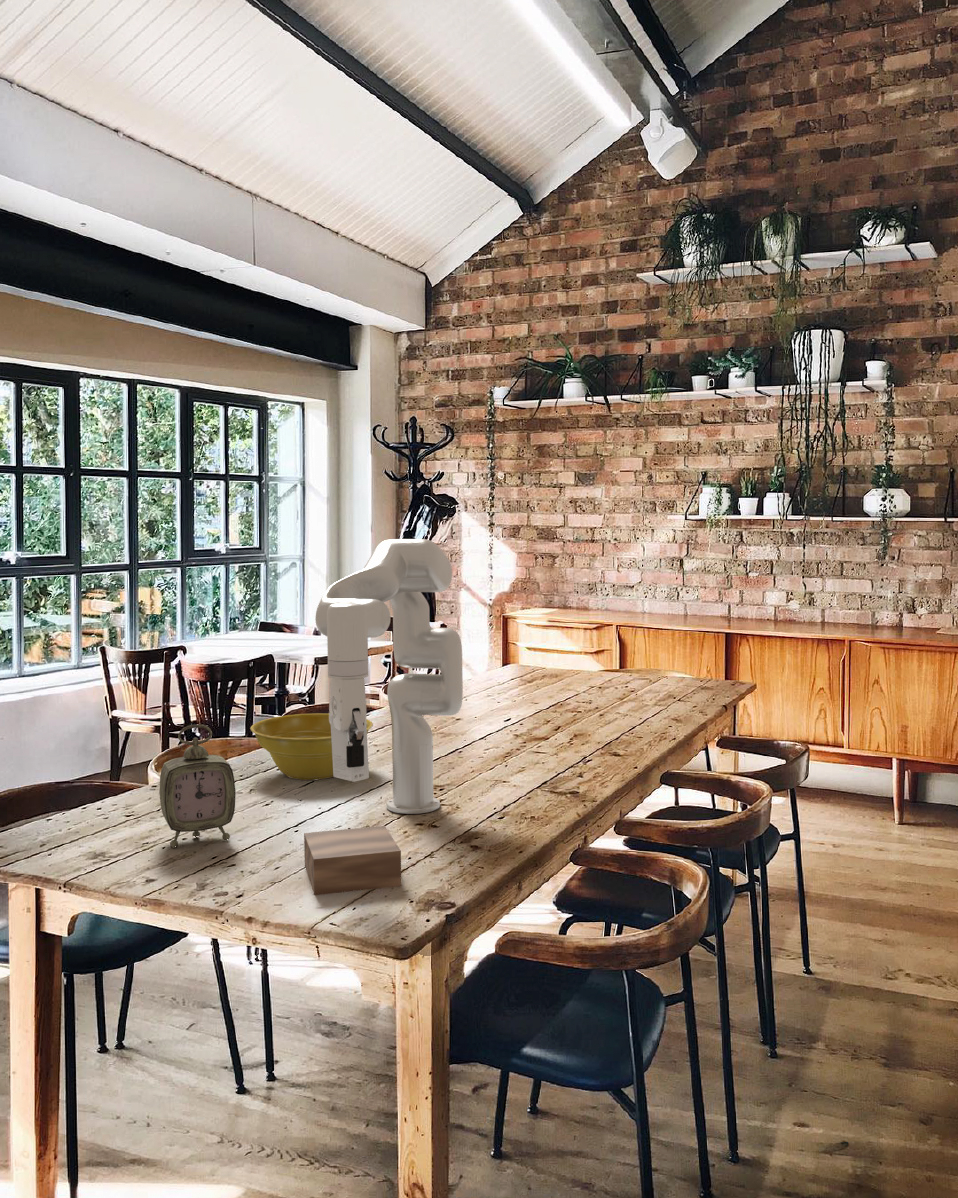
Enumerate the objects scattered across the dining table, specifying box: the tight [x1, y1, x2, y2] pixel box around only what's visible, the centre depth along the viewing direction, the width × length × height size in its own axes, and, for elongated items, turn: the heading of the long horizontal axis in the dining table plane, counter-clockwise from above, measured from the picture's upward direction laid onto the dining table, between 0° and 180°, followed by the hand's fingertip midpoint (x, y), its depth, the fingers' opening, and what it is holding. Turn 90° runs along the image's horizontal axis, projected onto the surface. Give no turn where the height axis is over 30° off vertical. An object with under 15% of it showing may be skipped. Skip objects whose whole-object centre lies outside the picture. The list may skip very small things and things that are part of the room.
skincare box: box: [330, 715, 370, 783], centre depth 192 cm, size 6×4×12 cm
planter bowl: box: [249, 713, 374, 781], centre depth 271 cm, size 32×32×13 cm
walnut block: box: [303, 825, 402, 896], centre depth 194 cm, size 16×16×7 cm
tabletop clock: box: [158, 724, 237, 848], centre depth 215 cm, size 14×9×25 cm, turn 115°
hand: (349, 761), depth 192 cm, fingers closed on skincare box, 7 cm apart
